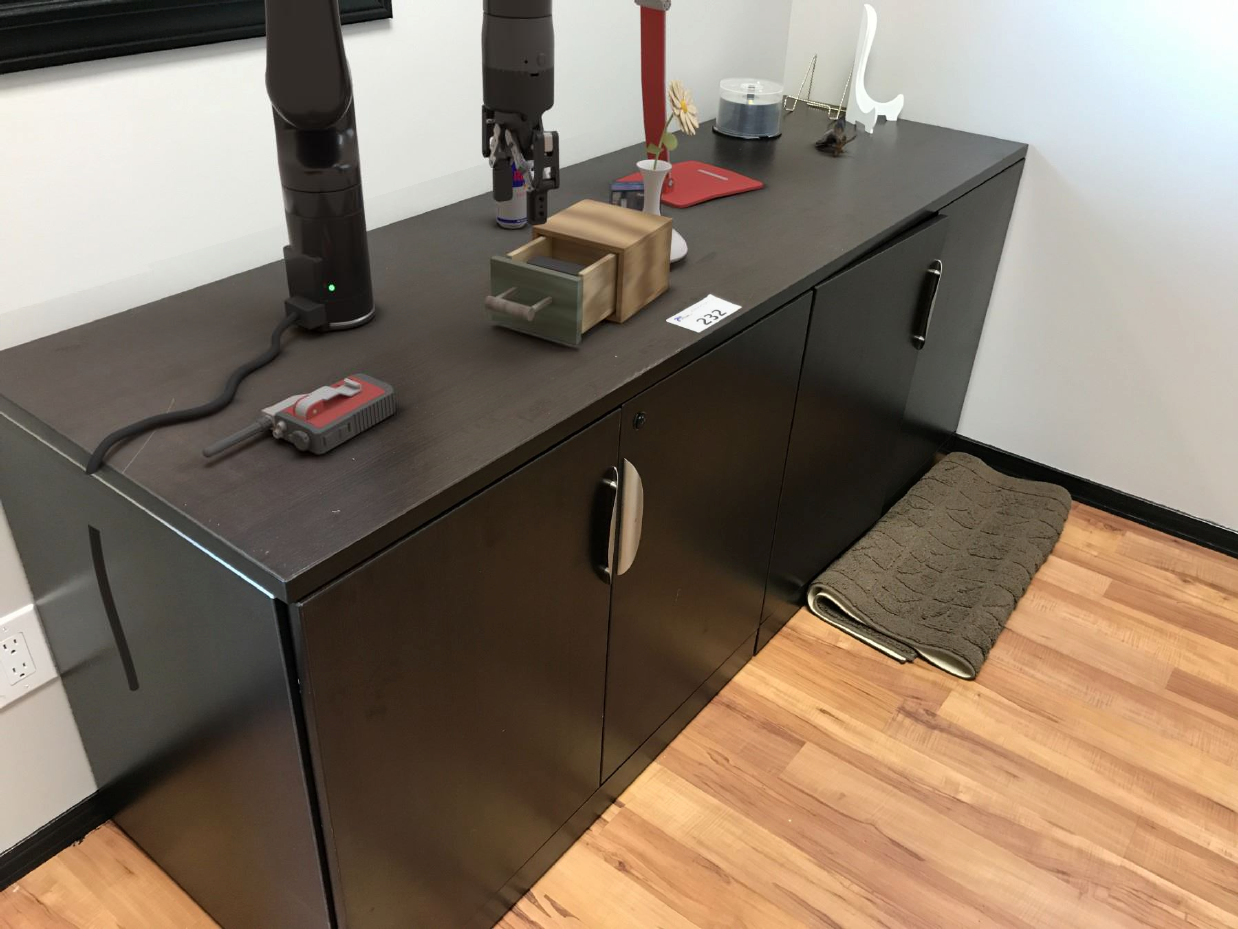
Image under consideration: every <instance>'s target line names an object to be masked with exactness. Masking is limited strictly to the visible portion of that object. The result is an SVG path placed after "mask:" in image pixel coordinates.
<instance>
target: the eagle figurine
mask: <svg viewBox="0 0 1238 929" xmlns="http://www.w3.org/2000/svg"><path fill="white" fill-rule="evenodd" d="M846 125H847V123H846V116H845V115H844V114H843V115H841V116H840V117H839V118H838V119H837V120H836V122H835V123H834V127H833V129H830V130H828V131H827V132H826V133H824V134H823V136H822V137H821V139H818V140H817V141H816V142H815V145H816V146H817V145H822V146H823V145H826V146H831V147H832V149H834V150H835V151H834V154H833V157H834V158H836V157H837V155H838V154H839V153H840V151H841V152H842V153H844V152H845V151H844V146H845V145H847V144H848V143H850V142H852V141H854V140H855V139H856V138H857V136H858V134H855V135H853V136H851V137H850V138H848V139H847V134H846V133H844V132H845V130H846ZM843 133H844V134H843ZM841 136H842V137H841Z"/></svg>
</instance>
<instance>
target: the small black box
mask: <svg viewBox="0 0 1238 929" xmlns="http://www.w3.org/2000/svg"><path fill="white" fill-rule="evenodd" d="M526 263H527V264H531V265H534V266H538V267H542V268H546V269H550V270H554V271H557V272H561V273H565V274H569V275H573V276H577V277H578V273H579V272H581V271H583V270H584V269H586V268H587V267H585V266H581V265H577V264H573V263H569V262H565V261H561V260H557V259H553V258H549V257H545V256H541V255H538V256H537V257H535V258H533V259H531V260H530V261H528V262H526Z"/></svg>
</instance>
